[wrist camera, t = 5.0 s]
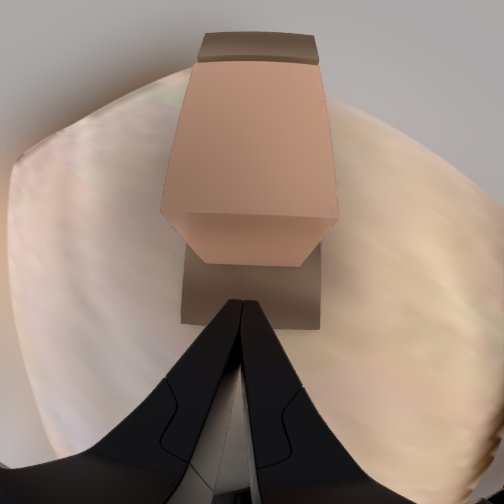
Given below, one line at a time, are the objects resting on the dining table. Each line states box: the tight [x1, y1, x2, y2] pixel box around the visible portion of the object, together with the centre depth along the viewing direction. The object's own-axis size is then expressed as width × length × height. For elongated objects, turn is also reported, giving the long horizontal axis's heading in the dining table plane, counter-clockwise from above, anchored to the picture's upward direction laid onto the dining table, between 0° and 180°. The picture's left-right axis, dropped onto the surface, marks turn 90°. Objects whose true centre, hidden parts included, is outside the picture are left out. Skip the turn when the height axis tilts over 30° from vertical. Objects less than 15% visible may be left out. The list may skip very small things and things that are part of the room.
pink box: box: [160, 61, 338, 267], centre depth 14 cm, size 8×6×9 cm
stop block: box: [181, 32, 321, 330], centre depth 16 cm, size 18×9×9 cm, turn 178°
